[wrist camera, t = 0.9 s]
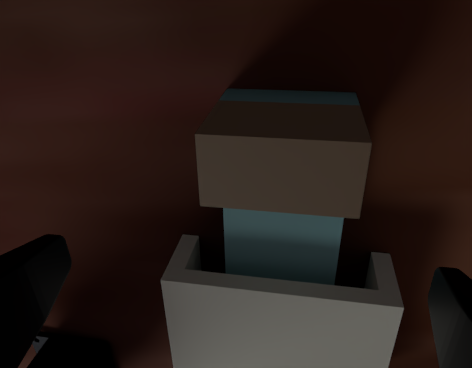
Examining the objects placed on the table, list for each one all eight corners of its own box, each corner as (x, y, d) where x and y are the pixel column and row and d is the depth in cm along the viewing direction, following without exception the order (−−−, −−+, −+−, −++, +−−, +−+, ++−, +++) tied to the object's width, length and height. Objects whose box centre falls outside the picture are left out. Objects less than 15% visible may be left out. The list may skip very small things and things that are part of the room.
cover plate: (323, 331, 26) (325, 423, 21) (233, 319, 27) (214, 404, 21) (355, 91, 18) (371, 143, 13) (227, 87, 19) (194, 134, 14)
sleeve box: (364, 368, 27) (371, 428, 23) (194, 344, 28) (177, 397, 25) (389, 253, 22) (404, 307, 18) (182, 234, 24) (160, 280, 20)
